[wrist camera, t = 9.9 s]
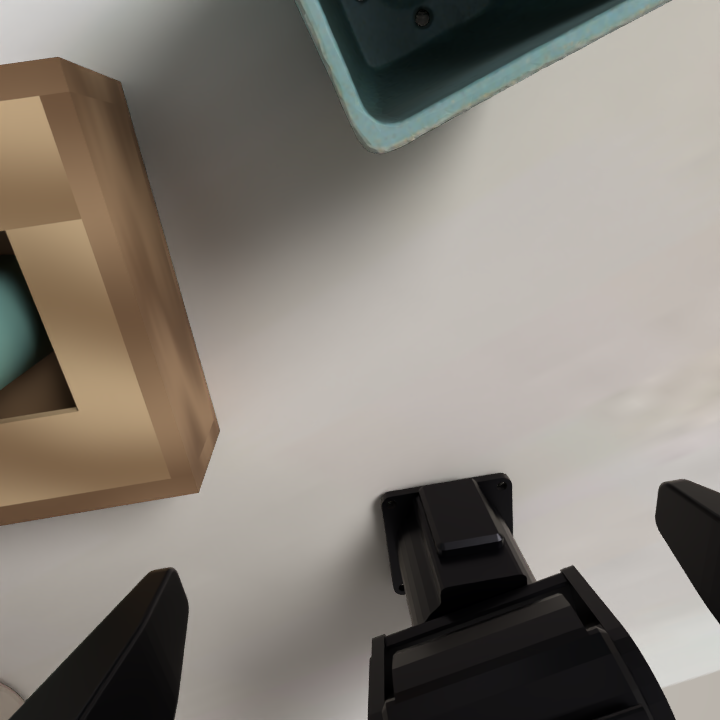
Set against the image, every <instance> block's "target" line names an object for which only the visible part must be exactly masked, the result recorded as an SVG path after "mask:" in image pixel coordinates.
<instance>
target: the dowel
mask: <svg viewBox="0 0 720 720" xmlns="http://www.w3.org/2000/svg"><path fill="white" fill-rule="evenodd" d="M53 351H54V349H53V347H52V344H51V342H50V339H49V337H48V334H47V332H46V329H45V327H44V324H43V322H42V319H41V317H40V315H39V312H38V310H37V307H36V305H35V302H34V300H33V297H32V295H31V292H30V290H29V287H28V285H27V283H26V280H25V278H24V275H23V273H22V270H21V268H20V265H19V263H18V260H17V258H16V256H15V255H0V390H1V389H2V388H4V387H5V386H6V385H8V384H9V383H11V382H12V381H13V380H15V379H16V378H17V377H19V376H20V375H21V374H23V373H24V372H26V371H27V370H28V369H30V368H31V367H32V366H34V365H35V364H36V363H38V362H39V361H41V360H42V359H43V358H45V357H46V356H47V355H49V354H50V353H51V352H53Z"/></svg>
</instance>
